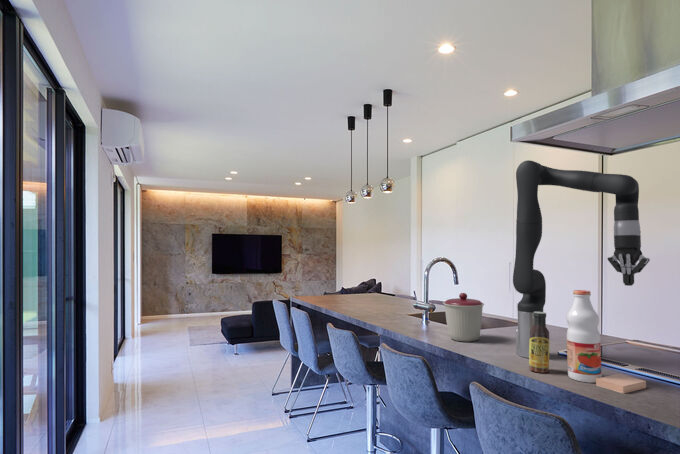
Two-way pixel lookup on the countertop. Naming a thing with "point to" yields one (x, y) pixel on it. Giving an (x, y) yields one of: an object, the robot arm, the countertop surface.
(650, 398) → the countertop surface
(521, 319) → the robot arm
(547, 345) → the sauce bottle
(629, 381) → the pale green flat block
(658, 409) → the countertop surface
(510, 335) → the countertop surface
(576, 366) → the fruit juice
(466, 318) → the canister
